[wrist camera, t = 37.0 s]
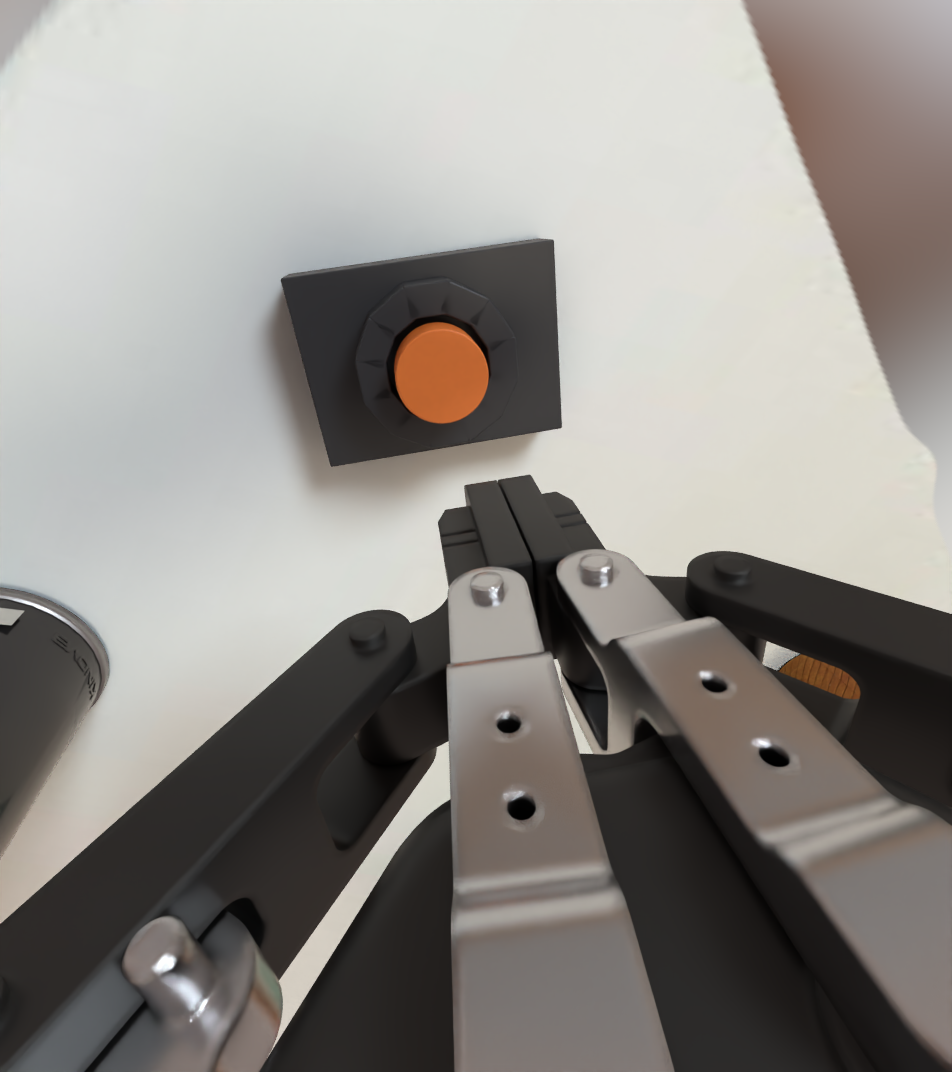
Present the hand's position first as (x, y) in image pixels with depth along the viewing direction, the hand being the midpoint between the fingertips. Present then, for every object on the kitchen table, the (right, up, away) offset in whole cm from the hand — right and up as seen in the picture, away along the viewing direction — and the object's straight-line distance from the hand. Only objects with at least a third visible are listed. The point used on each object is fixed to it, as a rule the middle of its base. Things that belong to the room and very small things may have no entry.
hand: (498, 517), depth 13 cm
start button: (-2, +6, +10) cm, 12 cm away
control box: (-3, +8, +13) cm, 16 cm away
